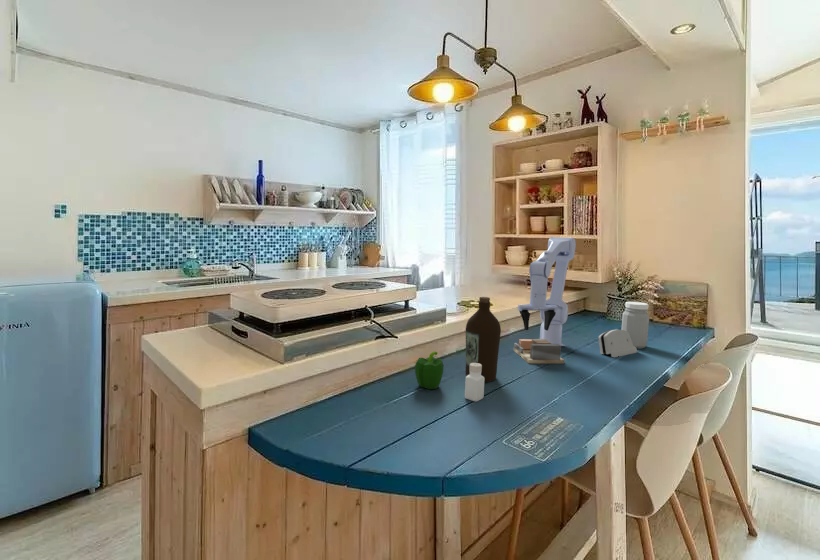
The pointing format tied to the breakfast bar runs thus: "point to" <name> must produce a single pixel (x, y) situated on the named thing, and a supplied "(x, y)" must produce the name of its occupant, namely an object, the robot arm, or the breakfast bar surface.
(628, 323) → the jar
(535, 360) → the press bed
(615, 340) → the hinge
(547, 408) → the breakfast bar surface
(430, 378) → the bell pepper
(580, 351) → the breakfast bar surface
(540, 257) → the robot arm
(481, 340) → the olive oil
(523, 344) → the block
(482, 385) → the white pill bottle
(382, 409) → the breakfast bar surface
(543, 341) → the block
